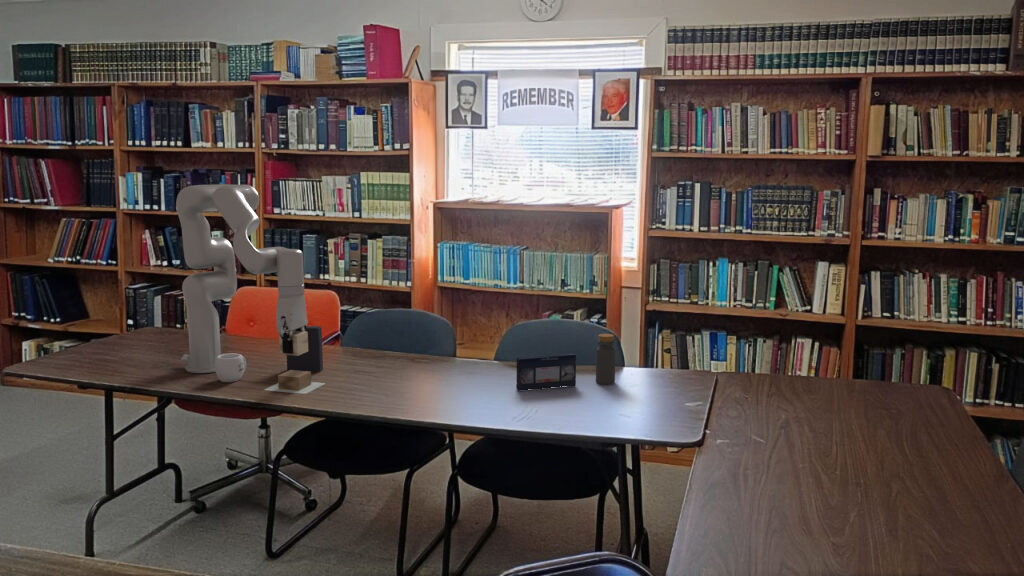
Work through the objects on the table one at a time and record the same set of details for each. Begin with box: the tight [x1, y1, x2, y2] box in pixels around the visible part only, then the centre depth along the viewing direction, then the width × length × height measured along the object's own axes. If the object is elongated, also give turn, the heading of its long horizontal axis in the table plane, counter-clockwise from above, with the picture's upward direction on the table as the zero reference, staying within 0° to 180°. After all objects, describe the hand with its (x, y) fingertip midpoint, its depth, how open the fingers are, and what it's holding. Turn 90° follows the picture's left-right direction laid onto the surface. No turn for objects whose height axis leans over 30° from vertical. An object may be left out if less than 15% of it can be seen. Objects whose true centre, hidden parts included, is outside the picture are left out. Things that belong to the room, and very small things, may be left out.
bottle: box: [595, 333, 616, 386], centre depth 264 cm, size 6×6×15 cm
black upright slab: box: [286, 325, 324, 373], centre depth 275 cm, size 11×4×15 cm, turn 84°
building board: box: [263, 381, 326, 395], centre depth 257 cm, size 14×12×1 cm
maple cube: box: [278, 331, 308, 356], centre depth 255 cm, size 6×6×6 cm
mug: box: [215, 352, 247, 383], centre depth 267 cm, size 12×8×8 cm
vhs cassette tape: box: [515, 353, 577, 391], centre depth 258 cm, size 18×3×10 cm, turn 105°
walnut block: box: [277, 370, 312, 391], centre depth 257 cm, size 7×7×4 cm
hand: (294, 350), depth 256 cm, fingers closed on maple cube, 6 cm apart
